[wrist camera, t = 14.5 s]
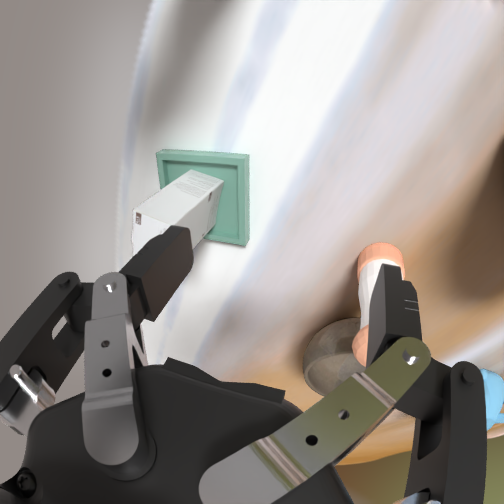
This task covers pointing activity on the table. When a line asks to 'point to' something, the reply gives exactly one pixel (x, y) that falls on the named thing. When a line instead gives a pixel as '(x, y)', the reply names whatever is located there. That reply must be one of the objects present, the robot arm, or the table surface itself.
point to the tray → (233, 192)
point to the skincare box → (178, 208)
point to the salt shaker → (371, 287)
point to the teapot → (493, 397)
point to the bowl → (332, 356)
